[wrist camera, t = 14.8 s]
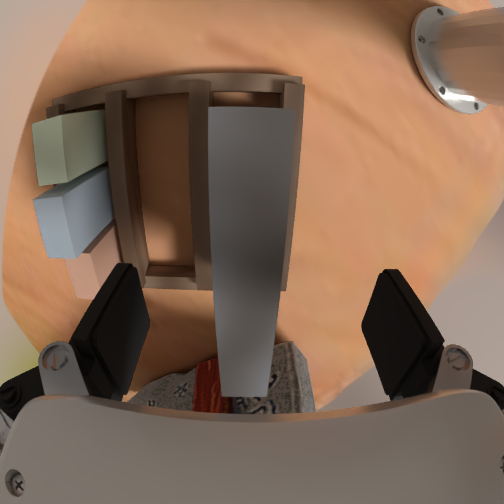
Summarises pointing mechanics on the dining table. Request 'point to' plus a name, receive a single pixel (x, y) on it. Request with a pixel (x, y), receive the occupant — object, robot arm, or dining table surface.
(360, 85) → the dining table surface
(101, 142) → the sage offcut board
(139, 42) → the dining table surface
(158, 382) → the decorative stone tablet
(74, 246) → the slate offcut board
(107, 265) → the terracotta offcut board
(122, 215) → the walnut rack
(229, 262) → the charcoal panel
